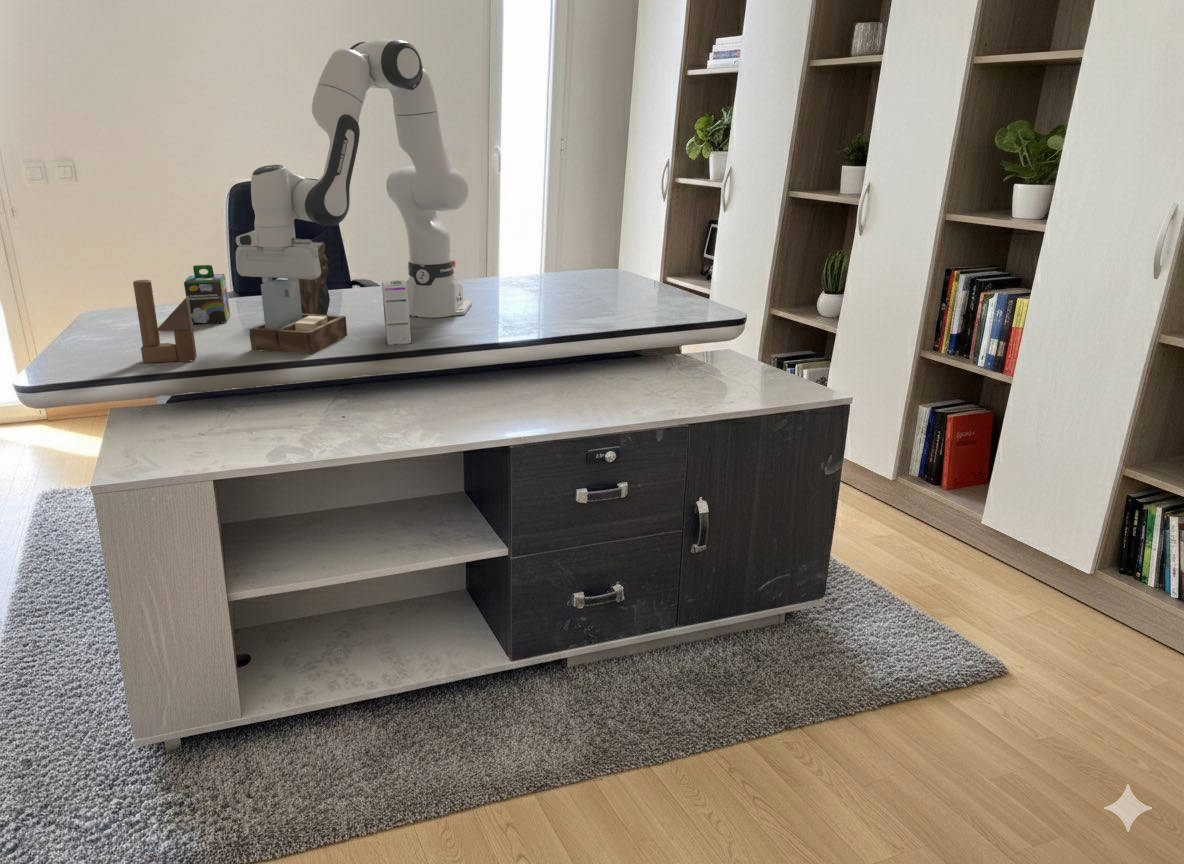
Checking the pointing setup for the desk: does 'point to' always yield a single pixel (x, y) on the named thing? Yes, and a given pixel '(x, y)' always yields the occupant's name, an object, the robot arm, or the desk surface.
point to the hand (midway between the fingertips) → (281, 296)
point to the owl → (316, 288)
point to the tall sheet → (280, 304)
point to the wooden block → (163, 328)
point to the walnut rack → (298, 336)
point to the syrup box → (396, 312)
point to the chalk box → (207, 296)
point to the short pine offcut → (310, 323)
